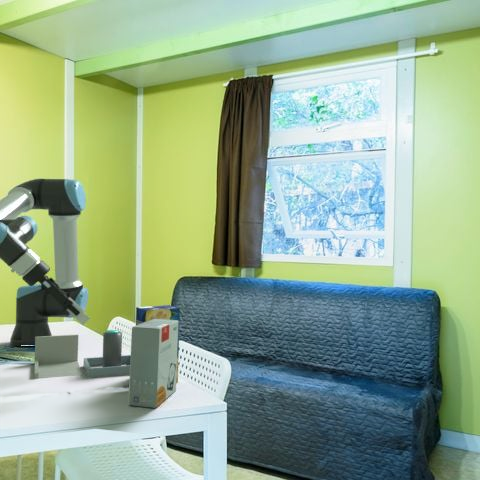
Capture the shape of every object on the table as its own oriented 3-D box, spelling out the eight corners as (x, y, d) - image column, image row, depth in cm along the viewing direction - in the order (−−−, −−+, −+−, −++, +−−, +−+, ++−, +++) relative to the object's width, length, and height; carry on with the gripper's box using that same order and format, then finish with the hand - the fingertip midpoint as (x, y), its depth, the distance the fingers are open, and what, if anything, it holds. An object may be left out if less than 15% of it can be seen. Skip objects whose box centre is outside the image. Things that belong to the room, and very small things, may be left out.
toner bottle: (101, 370, 150) (102, 329, 150) (119, 368, 152) (120, 329, 152) (103, 374, 145) (104, 333, 145) (122, 373, 147) (123, 332, 147)
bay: (34, 367, 153) (35, 336, 153) (77, 364, 158) (78, 334, 158) (34, 383, 137) (35, 348, 137) (82, 379, 142) (83, 345, 142)
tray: (83, 370, 151) (83, 358, 151) (133, 366, 158) (133, 354, 158) (87, 382, 139) (88, 369, 139) (141, 378, 145) (142, 364, 145)
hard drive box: (156, 409, 119) (158, 328, 119) (127, 406, 120) (129, 327, 120) (177, 390, 134) (178, 319, 134) (151, 388, 136) (153, 317, 136)
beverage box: (133, 381, 141) (135, 307, 141) (167, 376, 148) (169, 305, 148) (144, 388, 136) (146, 310, 136) (178, 382, 142) (180, 307, 142)
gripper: (21, 274, 149) (70, 320, 155) (20, 281, 126) (78, 335, 132) (40, 257, 151) (88, 303, 157) (42, 261, 128) (98, 315, 135)
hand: (83, 317), depth 145 cm, fingers open, 13 cm apart
